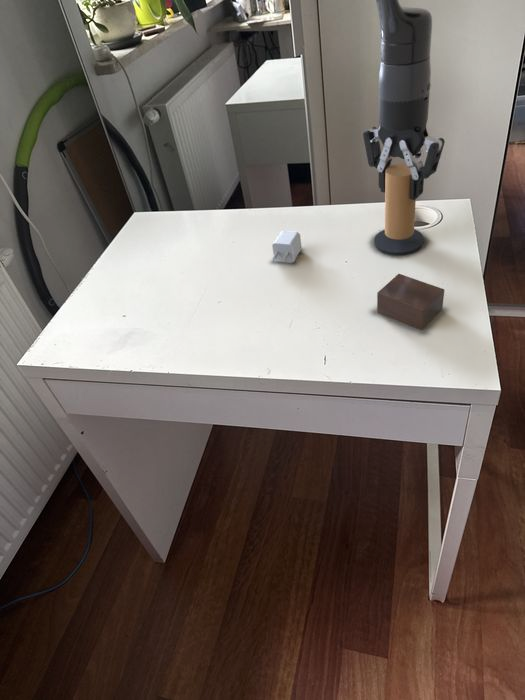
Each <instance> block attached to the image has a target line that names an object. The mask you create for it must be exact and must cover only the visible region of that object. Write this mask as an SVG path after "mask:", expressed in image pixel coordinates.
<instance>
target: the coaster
mask: <svg viewBox="0 0 525 700" xmlns="http://www.w3.org/2000/svg"><path fill="white" fill-rule="evenodd" d="M424 243H425V237H424V235H423V233H421V232H420V231H419V230H417V229H415V228H414V233H413V235H412V236H411V237H409V238H406V239H401V240H396V239H391V238H389V237H387V236H386V235H385V229H383V230H381V231H379V232H378V233H377V234H376V235H375V236H374V238H373V245H374V247H375V249H376V250H377V251H379V252H381V253H383V254H386V255H389V256H390V255H391V256H406V255H410V254H414V253H415V252H417V251H419V250H420V249H421V248H422V247H423V245H424Z"/></svg>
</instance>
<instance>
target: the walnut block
mask: <svg viewBox="0 0 525 700" xmlns="http://www.w3.org/2000/svg"><path fill="white" fill-rule="evenodd" d="M376 293H377V294H376V295H377V297H376V298H377V300H376V303H377V305H376V312H377V314H380V315H382V316H384V317H387V318H390V319H392V320H394V321H398V322H399V323H402V324H405V325H407V326H409V327H412V328H414V329H416V330H420V331H423V330H424V329H426V327H427V326H428V325H430V323H431V322H432V321H433V320H434V319H435V318H436V317H437V316H438V315H439V314H440V313H441V312H443V306H444V298H445V289H444V288H442V287H439V286H436V285H433V284H430V283H427V282H425V281H421V280H419V279H416V278H413V277H410V276H407V275H404V274H401V273H398V274H397V275H395V276H394V277H393V278H392V279H391V280H389V282H387V284H385V285H384V286H383V287H381V289H379V291H377V292H376Z"/></svg>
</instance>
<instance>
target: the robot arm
mask: <svg viewBox="0 0 525 700" xmlns="http://www.w3.org/2000/svg"><path fill="white" fill-rule="evenodd" d="M375 2H376V6H377V11H378V12H377V13H378V17H379V25H380V66H379V74H378V124H379V128H377V127H376V126H372V127H370V128H369V129H367V130H366V131H364V132H363V133H362V137H363V142H364V146H365V153H366V158H367V164H368V166H369V167H371V168H373V167H374V168H375V169H376V170H377V172H378V188H379V189H380V192H381V193H384V194H385V170H386V168H387V167H389V166H391V165H392V163H393V161H394V159H395V158H399V159H402V160H404V163H406V165H407V167H409V169H410V172H411V175H412V179H411V186H410V199H412V200H415V199H416V200H417V199H418V198H419V197H420V196H421V195H422V194H423V193H424V182H425V180H427V179H429V178H430V176H432V175H433V174H435V173H436V172H437V170H438V166H439V162H440V159H441V157H442V154H443V150H444V147H445V142H446V141H445V139H444V138H443V137H439V138H438V139H436V138H434V137H432V136H429V132H428V129H427V123H428V119H429V108H430V94H431V93H430V90H431V86H432V85H431V77H432V76H431V75H432V69H431V68H432V67H431V47H432V46H431V45H432V36H433V35H432V34H433V16H432V14H431V12H430V11H429V10H428V9H425V8H422V7H411V6H410V7H408V6H402V5H401V3H400V2H399V0H375ZM380 142H381V143H380ZM381 144H382V145H383V148H382V149H381ZM424 145H425V153H426V158H425V154H424V151H423V146H424Z"/></svg>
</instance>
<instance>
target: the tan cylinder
mask: <svg viewBox="0 0 525 700" xmlns="http://www.w3.org/2000/svg"><path fill="white" fill-rule="evenodd" d="M411 179H412V175H411V172H410V169H409V167H407V165H406V162H398V163H393V164H391V166H389V167H387V168H386V170H385V193H384V230H385V235H386V236H387V237H389V238H391V239H396V240H401V239H406V238H409V237H411V236H412V235H413V233H414V229H415V222H416V221H415V220H416V219H415V218H416V202H417V199H415V200H412V199H410V186H411Z"/></svg>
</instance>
